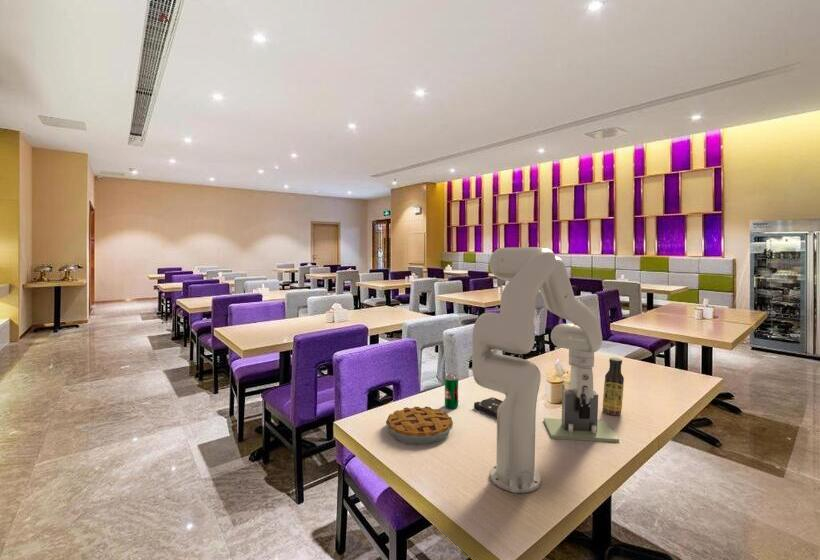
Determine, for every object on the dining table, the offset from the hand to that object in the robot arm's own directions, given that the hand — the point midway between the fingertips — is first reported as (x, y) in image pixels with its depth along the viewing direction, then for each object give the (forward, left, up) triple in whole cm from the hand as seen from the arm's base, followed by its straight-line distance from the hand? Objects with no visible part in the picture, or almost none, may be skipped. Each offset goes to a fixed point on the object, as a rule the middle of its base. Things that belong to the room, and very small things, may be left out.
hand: (579, 412), depth 131 cm
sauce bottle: (+17, -16, -6) cm, 24 cm away
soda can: (+15, +42, -6) cm, 45 cm away
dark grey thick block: (0, 0, -5) cm, 5 cm away
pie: (-6, +52, -7) cm, 53 cm away
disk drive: (+13, +25, -7) cm, 29 cm away
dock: (0, 0, -6) cm, 6 cm away
